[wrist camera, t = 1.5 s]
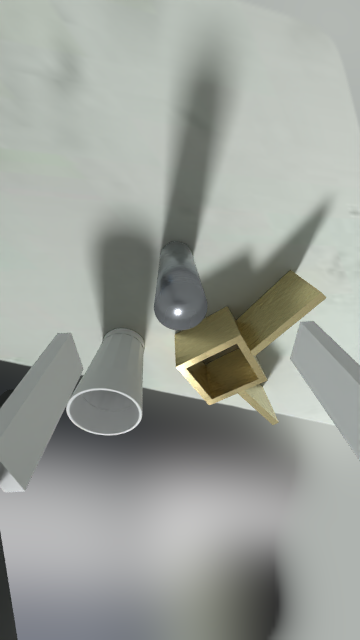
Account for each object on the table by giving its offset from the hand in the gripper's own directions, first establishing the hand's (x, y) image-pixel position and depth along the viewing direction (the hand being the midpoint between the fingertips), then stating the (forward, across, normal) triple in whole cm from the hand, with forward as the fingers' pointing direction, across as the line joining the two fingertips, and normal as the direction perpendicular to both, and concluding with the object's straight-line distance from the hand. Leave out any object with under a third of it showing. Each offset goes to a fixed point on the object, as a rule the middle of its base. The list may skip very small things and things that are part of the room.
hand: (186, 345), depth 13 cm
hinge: (+17, +12, -14) cm, 25 cm away
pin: (+17, 0, 0) cm, 17 cm away
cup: (+18, -9, -13) cm, 23 cm away
